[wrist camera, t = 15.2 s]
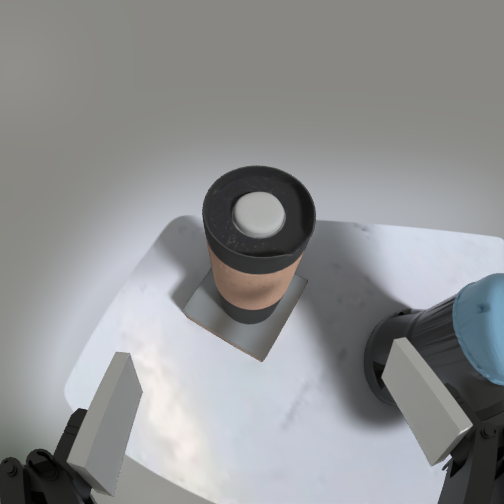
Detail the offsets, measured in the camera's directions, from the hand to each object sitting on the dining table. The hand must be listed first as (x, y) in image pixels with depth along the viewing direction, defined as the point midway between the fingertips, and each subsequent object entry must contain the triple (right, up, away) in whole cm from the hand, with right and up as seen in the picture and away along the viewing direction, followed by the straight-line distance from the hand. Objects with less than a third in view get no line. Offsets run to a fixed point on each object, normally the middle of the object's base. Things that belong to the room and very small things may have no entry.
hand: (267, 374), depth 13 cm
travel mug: (-1, 0, +24) cm, 24 cm away
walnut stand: (-2, -2, +27) cm, 27 cm away
